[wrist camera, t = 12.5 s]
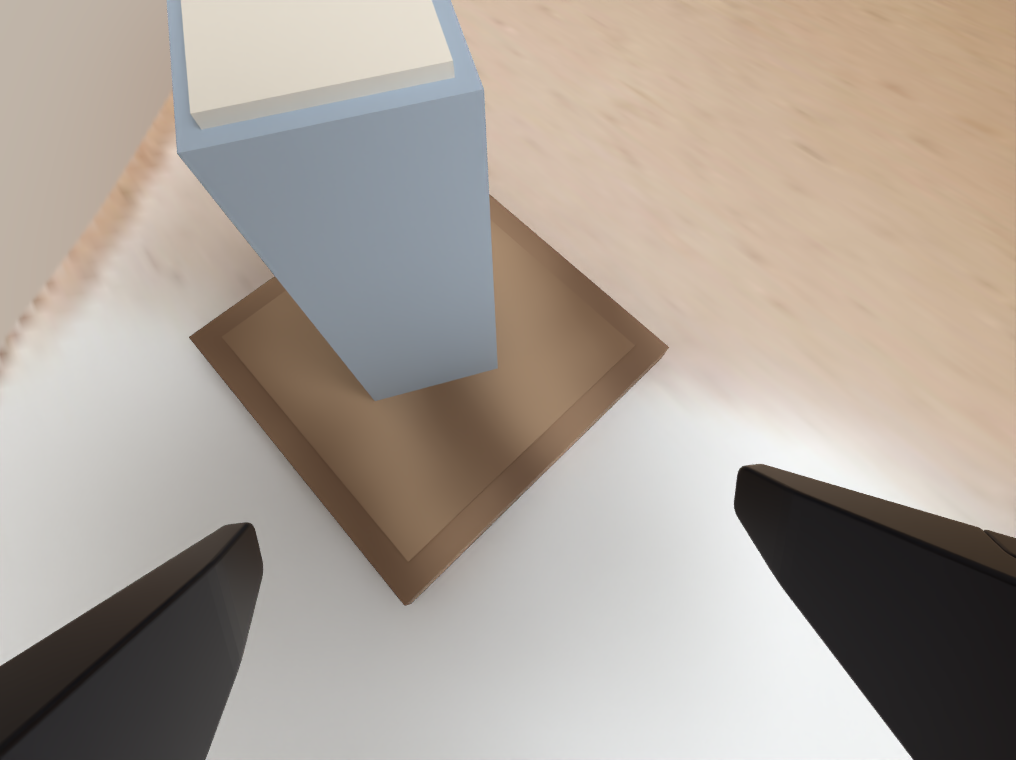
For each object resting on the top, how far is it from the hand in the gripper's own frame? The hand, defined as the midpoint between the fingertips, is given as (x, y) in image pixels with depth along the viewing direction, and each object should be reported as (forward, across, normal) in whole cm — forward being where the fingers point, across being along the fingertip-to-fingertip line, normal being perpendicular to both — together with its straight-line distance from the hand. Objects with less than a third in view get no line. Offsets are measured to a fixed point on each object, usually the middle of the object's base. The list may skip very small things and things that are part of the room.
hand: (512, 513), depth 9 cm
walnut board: (+13, +1, 0) cm, 13 cm away
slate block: (+12, +2, 0) cm, 12 cm away
